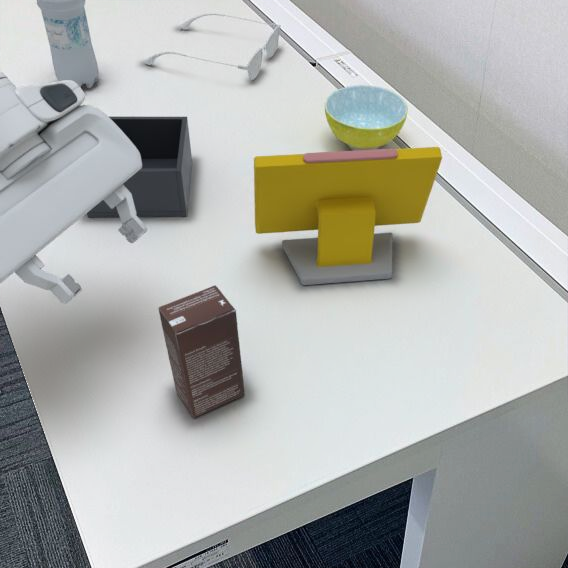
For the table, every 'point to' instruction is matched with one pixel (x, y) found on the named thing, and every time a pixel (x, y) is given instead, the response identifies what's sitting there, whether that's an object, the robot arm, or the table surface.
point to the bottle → (70, 40)
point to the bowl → (365, 115)
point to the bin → (156, 167)
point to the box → (203, 350)
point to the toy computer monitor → (342, 207)
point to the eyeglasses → (255, 60)
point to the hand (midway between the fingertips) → (108, 266)
